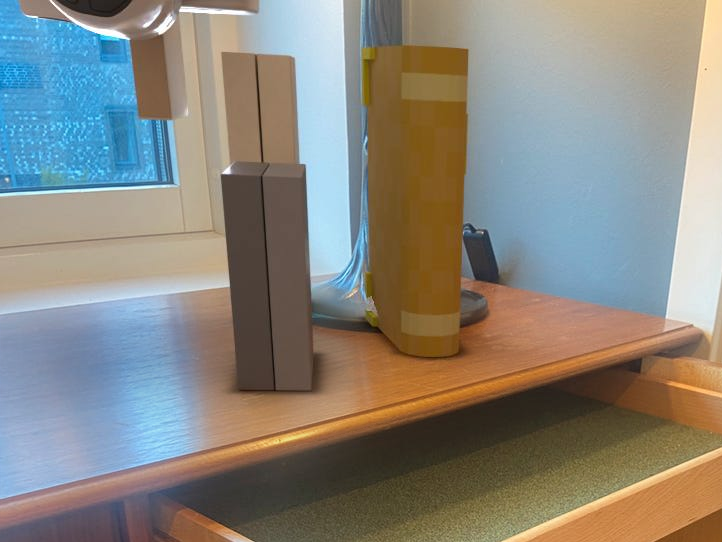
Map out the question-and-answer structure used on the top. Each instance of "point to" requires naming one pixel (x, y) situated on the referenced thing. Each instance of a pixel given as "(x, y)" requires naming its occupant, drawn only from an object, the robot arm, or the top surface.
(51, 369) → the top surface
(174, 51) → the cream book
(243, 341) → the grey books
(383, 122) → the book
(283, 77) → the cream books
